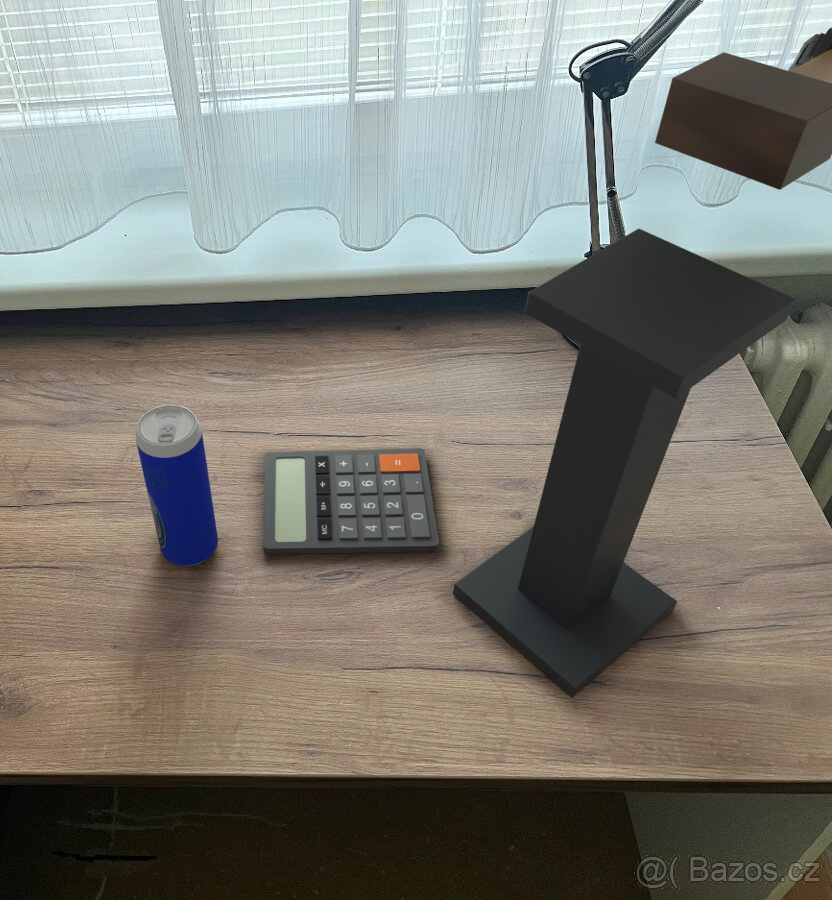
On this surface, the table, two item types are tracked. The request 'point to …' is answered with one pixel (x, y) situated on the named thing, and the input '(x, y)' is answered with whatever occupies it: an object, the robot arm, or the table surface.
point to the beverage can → (177, 483)
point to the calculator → (348, 502)
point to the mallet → (752, 117)
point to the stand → (613, 447)
